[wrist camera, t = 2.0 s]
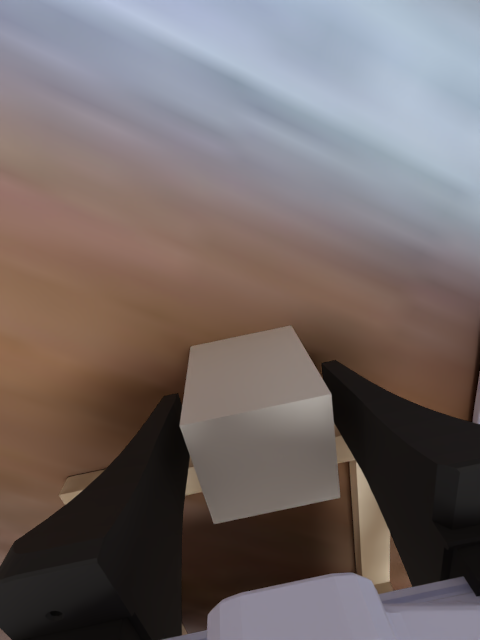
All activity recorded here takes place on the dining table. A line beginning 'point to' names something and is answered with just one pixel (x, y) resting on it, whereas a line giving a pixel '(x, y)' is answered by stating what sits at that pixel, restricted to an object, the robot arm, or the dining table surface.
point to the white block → (259, 425)
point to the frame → (366, 512)
